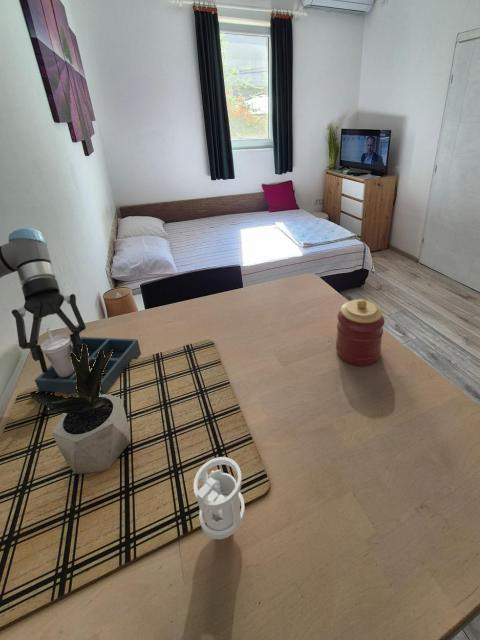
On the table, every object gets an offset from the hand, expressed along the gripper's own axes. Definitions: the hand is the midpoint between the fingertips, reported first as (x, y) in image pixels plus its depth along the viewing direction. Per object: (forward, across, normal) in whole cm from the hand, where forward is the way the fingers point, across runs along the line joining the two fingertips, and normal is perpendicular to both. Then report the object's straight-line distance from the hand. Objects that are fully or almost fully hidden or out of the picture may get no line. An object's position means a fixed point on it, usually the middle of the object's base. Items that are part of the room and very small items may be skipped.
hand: (62, 365), depth 80 cm
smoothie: (+1, 0, -6) cm, 6 cm away
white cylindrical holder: (+43, -17, +31) cm, 56 cm away
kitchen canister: (+31, -69, +18) cm, 78 cm away
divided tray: (+3, -6, -9) cm, 11 cm away
